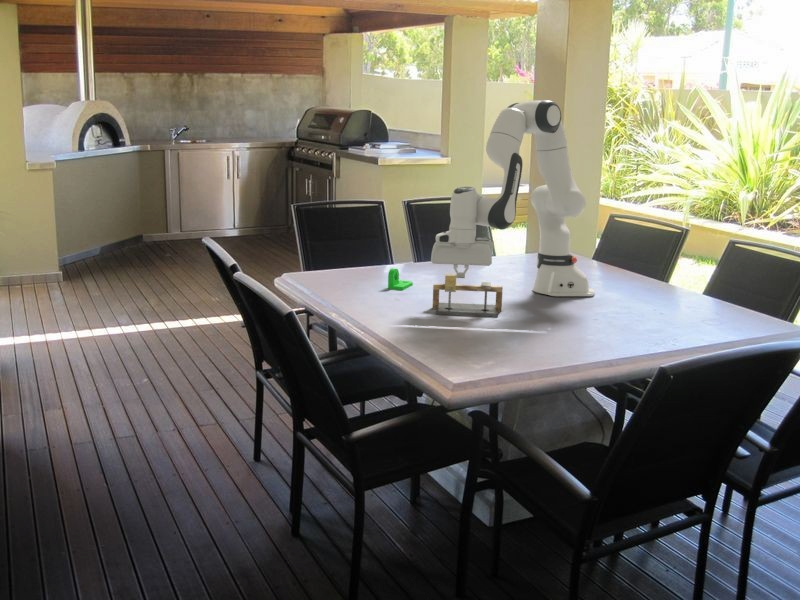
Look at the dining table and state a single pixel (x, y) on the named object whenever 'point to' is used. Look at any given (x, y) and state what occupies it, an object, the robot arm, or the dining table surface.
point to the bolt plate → (466, 310)
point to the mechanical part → (397, 281)
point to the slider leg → (450, 285)
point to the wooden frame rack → (483, 287)
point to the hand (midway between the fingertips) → (460, 277)
